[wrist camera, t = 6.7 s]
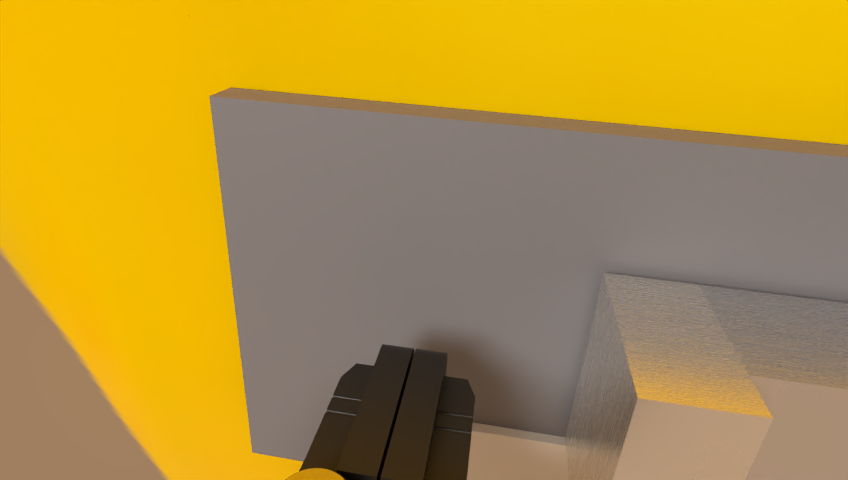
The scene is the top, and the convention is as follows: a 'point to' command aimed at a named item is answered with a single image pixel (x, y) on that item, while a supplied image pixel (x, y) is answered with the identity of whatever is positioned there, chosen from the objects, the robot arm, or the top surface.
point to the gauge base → (489, 248)
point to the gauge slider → (710, 385)
